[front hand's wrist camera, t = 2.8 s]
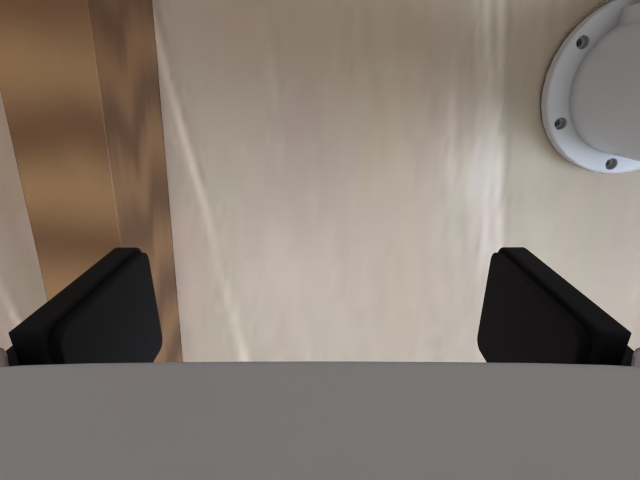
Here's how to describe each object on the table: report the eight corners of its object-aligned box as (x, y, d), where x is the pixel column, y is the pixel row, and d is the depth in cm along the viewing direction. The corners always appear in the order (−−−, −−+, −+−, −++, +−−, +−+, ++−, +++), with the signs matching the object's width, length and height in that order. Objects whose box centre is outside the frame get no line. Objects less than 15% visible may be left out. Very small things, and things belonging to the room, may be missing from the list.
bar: (-21, -619, 19) (-277, -1141, 11) (100, -610, 19) (-67, -1121, 11) (150, 517, 49) (115, 603, 41) (196, 520, 49) (170, 606, 41)
